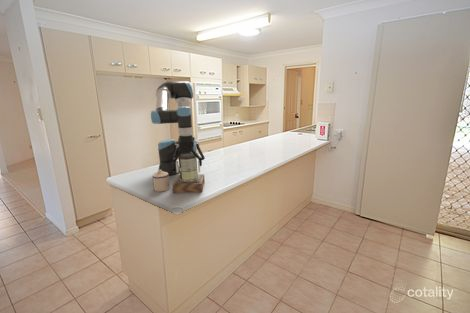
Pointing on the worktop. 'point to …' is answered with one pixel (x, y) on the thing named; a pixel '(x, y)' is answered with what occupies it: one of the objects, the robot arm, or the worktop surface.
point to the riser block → (189, 185)
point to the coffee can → (188, 167)
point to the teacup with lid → (161, 181)
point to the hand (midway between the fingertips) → (188, 171)
